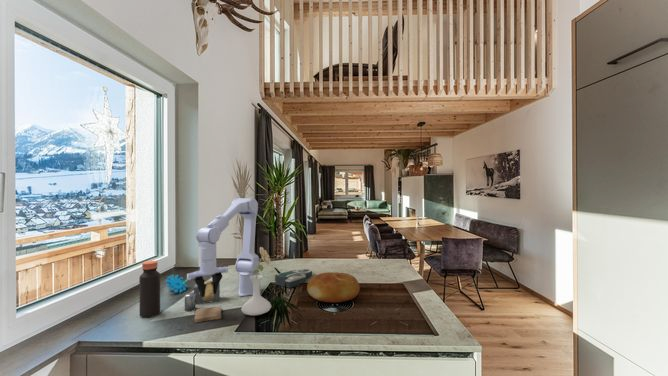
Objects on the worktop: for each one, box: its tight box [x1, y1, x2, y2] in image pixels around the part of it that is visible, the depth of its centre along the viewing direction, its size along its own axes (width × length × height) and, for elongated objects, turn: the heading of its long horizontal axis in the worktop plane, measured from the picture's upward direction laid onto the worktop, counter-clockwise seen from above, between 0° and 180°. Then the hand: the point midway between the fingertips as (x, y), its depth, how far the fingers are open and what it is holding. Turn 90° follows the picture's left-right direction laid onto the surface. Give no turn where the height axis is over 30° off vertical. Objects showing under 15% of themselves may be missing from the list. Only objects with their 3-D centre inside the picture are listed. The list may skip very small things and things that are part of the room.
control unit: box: [193, 281, 221, 304], centre depth 123 cm, size 10×5×7 cm, turn 112°
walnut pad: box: [193, 305, 222, 323], centre depth 109 cm, size 9×9×1 cm
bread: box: [306, 271, 361, 304], centre depth 129 cm, size 23×23×10 cm
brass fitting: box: [202, 280, 214, 300], centre depth 109 cm, size 4×4×6 cm
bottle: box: [138, 260, 161, 318], centre depth 110 cm, size 7×7×20 cm
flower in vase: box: [240, 246, 272, 316], centre depth 113 cm, size 13×11×25 cm
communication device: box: [273, 266, 313, 288], centre depth 150 cm, size 12×24×9 cm, turn 148°
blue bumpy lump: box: [165, 274, 189, 294], centre depth 135 cm, size 11×6×10 cm
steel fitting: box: [184, 292, 197, 312], centre depth 114 cm, size 4×4×6 cm
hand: (208, 294), depth 109 cm, fingers closed on brass fitting, 4 cm apart
